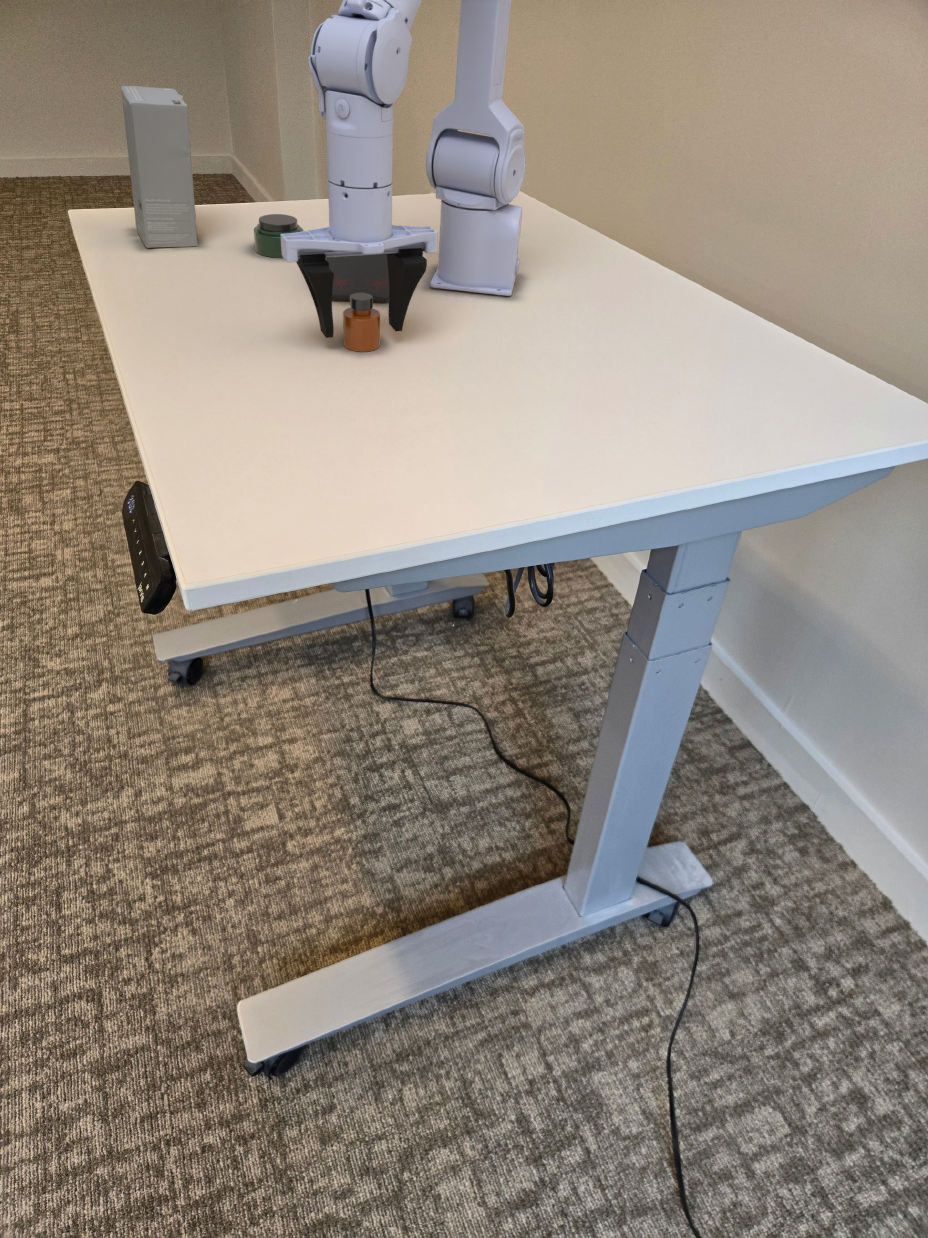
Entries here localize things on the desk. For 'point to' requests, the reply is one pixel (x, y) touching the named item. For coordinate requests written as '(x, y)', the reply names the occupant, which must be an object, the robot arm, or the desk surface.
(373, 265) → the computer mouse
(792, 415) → the desk surface
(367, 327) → the amber bottle
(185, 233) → the cosmetic box
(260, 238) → the green jar with lid
